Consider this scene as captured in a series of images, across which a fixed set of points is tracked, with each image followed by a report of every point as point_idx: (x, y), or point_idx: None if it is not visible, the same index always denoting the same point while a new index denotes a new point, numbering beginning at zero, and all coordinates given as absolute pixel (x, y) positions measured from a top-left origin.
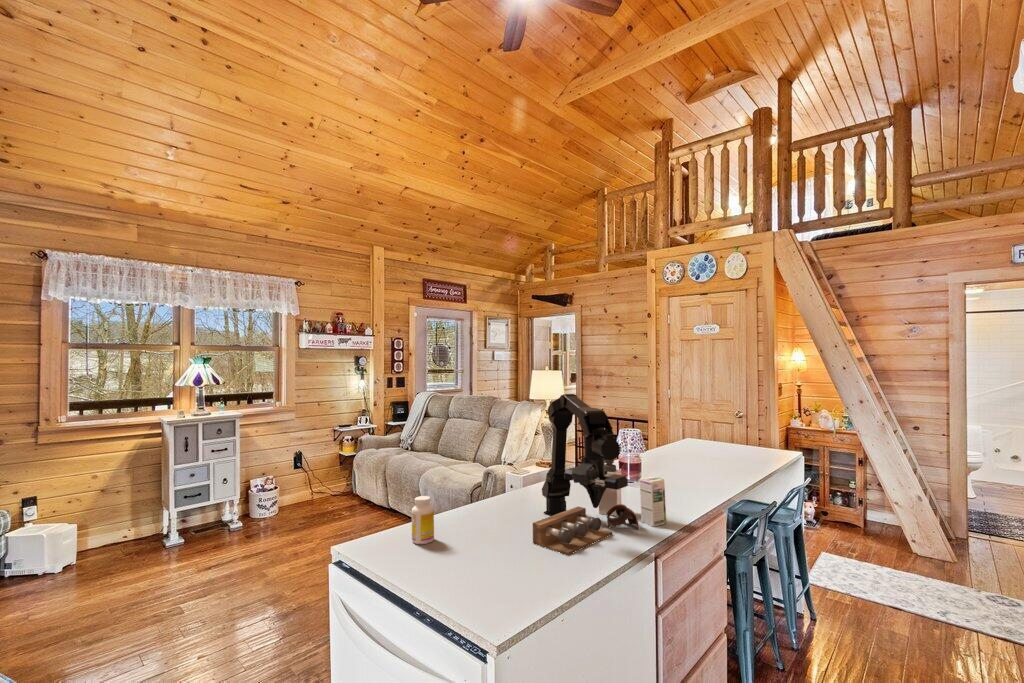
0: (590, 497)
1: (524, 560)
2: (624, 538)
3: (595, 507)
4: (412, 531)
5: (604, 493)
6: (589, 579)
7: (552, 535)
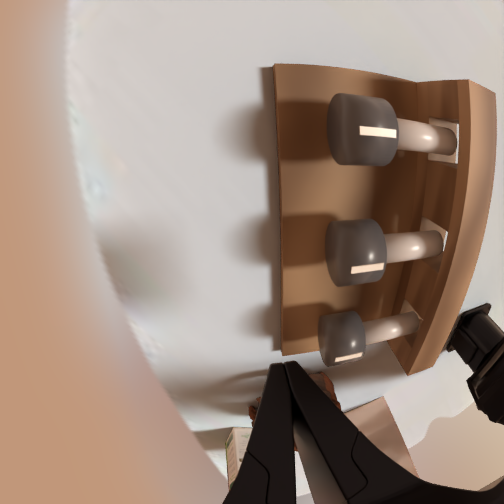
0: (341, 424)
1: None
2: (231, 352)
3: (270, 365)
4: None
5: (386, 445)
6: (78, 12)
7: (424, 157)
